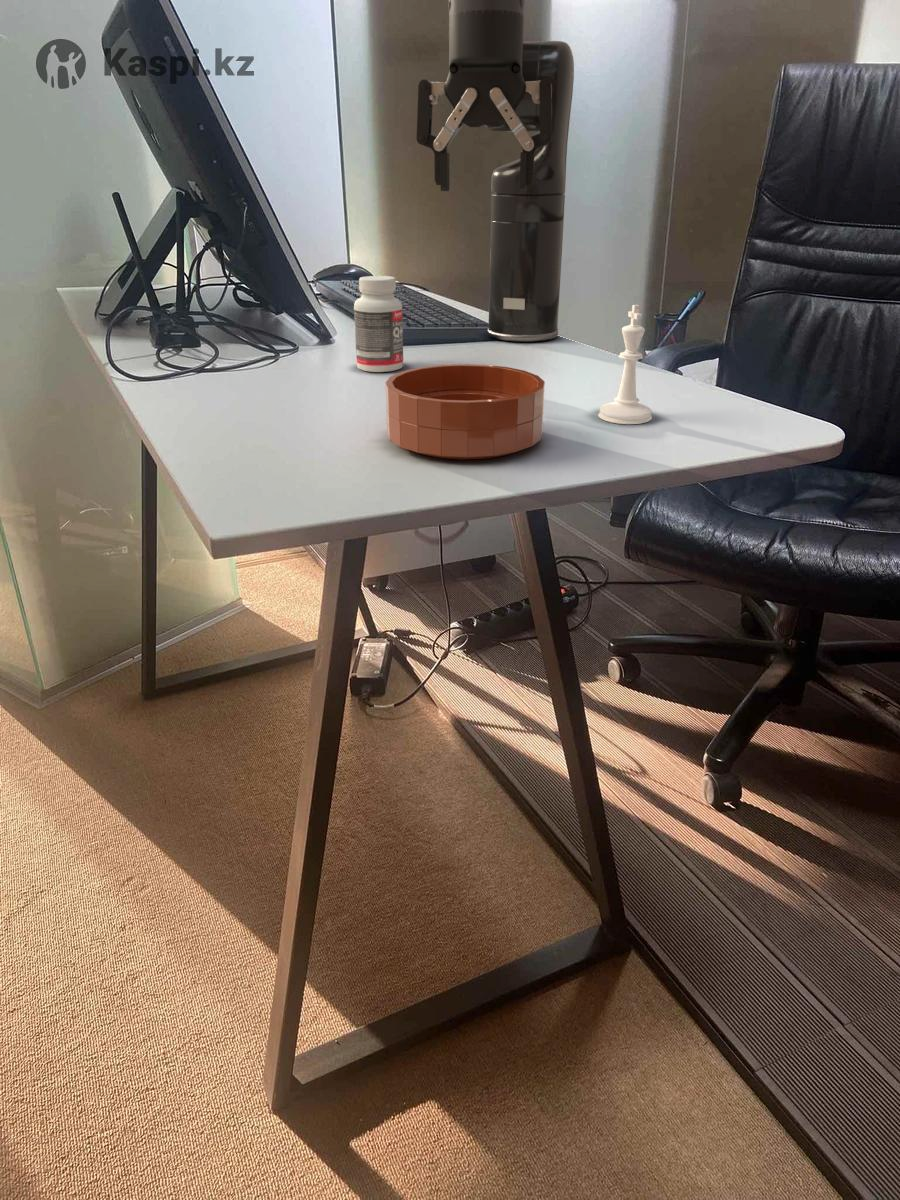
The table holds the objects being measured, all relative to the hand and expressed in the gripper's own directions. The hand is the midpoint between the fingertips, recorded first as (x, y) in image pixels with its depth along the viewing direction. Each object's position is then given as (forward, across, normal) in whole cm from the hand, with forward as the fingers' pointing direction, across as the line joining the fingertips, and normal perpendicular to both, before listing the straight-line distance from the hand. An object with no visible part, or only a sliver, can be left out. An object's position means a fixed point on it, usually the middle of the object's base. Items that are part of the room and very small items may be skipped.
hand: (483, 190), depth 93 cm
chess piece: (+19, -16, +22) cm, 33 cm away
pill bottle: (+18, +11, +5) cm, 22 cm away
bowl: (+19, -2, +31) cm, 36 cm away
